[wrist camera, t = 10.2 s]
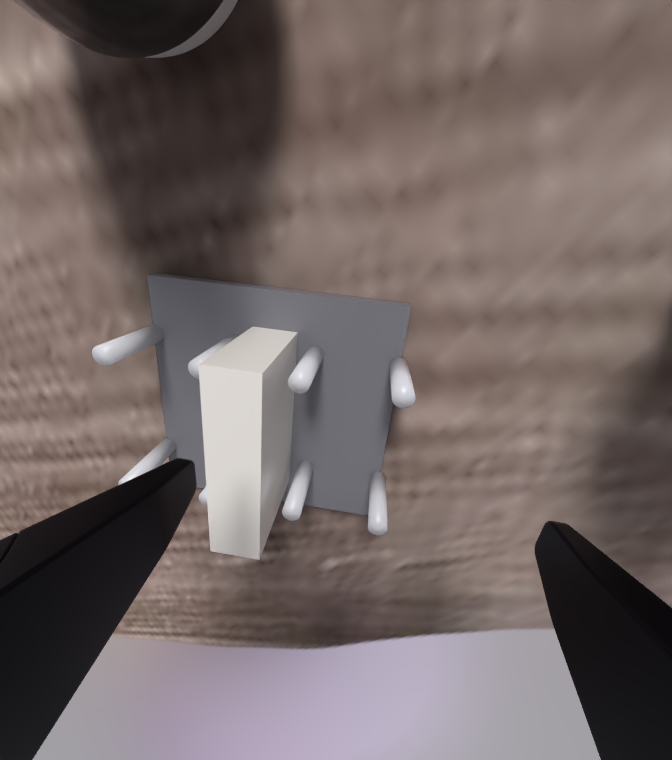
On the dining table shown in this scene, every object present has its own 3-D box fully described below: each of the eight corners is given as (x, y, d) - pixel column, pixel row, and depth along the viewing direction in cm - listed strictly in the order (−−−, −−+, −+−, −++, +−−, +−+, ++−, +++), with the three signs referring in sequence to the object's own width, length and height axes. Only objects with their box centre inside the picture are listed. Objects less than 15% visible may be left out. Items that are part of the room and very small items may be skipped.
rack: (417, 304, 18) (430, 326, 13) (378, 506, 23) (378, 571, 19) (151, 272, 19) (77, 283, 14) (174, 473, 24) (127, 527, 20)
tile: (297, 332, 18) (262, 373, 13) (289, 479, 22) (259, 559, 17) (252, 326, 18) (198, 364, 13) (252, 473, 22) (210, 551, 17)
